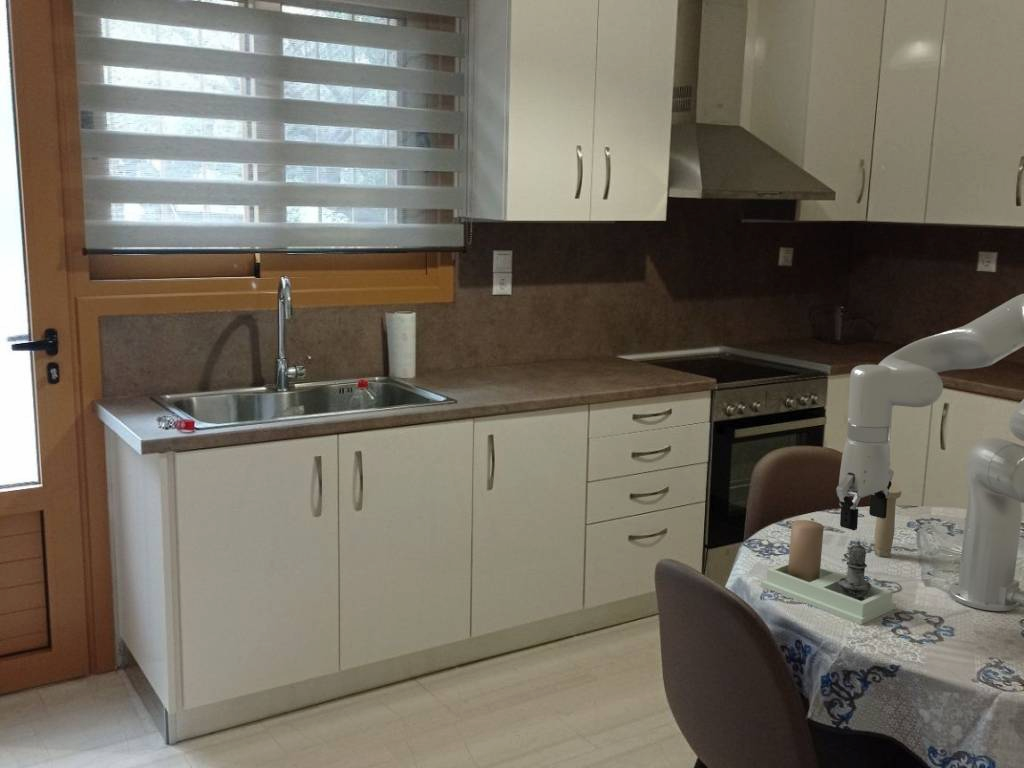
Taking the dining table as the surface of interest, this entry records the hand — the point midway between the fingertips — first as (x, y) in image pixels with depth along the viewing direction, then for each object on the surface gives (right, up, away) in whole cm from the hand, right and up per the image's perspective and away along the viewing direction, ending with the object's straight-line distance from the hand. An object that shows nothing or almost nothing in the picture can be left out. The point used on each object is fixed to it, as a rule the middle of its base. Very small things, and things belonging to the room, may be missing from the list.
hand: (863, 522), depth 185 cm
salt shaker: (-1, -16, +3) cm, 16 cm away
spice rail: (-5, -15, +7) cm, 18 cm away
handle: (+15, -11, +31) cm, 36 cm away
